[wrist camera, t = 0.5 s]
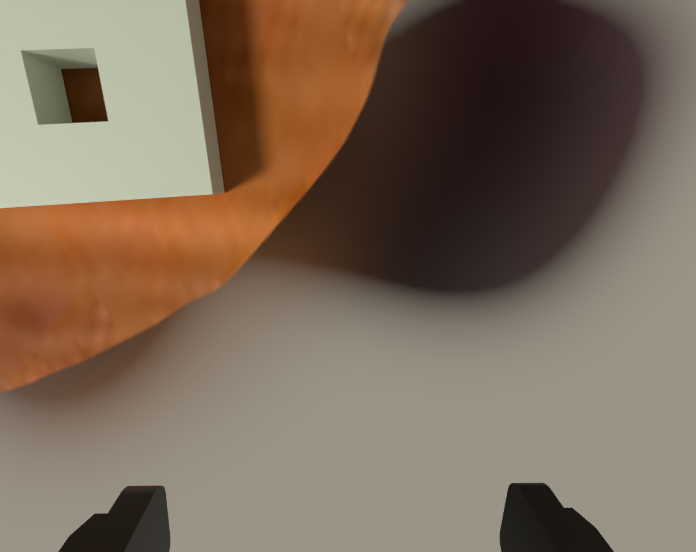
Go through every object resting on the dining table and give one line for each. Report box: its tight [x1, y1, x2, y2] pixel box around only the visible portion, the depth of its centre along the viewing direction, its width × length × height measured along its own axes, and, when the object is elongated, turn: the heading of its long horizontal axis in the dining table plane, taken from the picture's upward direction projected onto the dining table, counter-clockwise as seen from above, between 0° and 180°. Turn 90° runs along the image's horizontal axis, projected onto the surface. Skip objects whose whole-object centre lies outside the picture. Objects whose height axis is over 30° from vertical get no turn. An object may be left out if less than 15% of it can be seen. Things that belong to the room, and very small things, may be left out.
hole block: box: [0, 0, 225, 208], centre depth 30 cm, size 16×18×4 cm
